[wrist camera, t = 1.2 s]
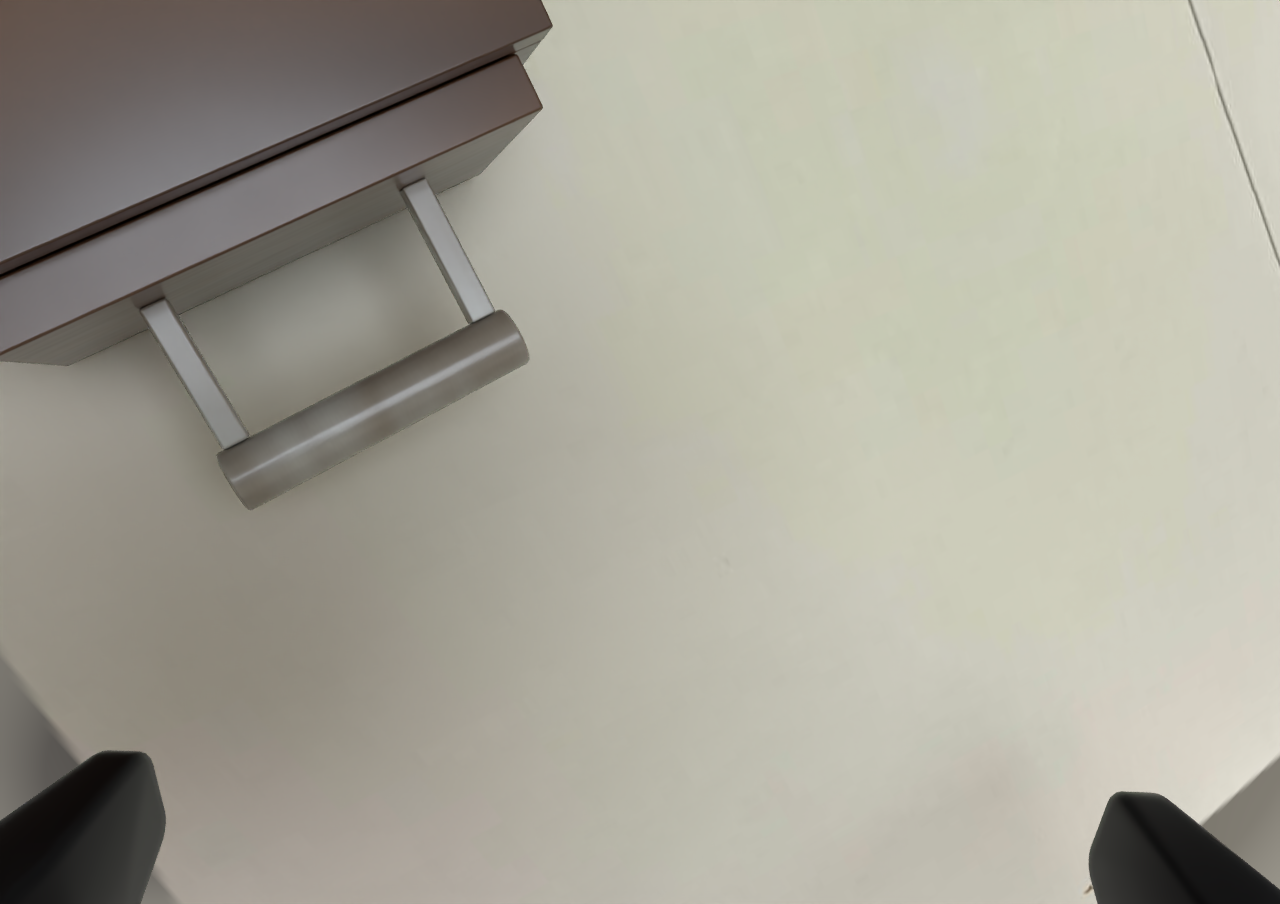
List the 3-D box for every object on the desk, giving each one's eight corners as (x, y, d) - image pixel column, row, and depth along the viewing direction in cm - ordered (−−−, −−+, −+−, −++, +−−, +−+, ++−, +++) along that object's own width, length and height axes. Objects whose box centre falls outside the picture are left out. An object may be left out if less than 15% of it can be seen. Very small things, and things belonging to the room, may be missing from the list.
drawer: (560, 329, 28) (643, 313, 21) (172, 533, 25) (134, 587, 18) (217, -351, 24) (193, -622, 17) (-298, -207, 21) (-560, -471, 14)
